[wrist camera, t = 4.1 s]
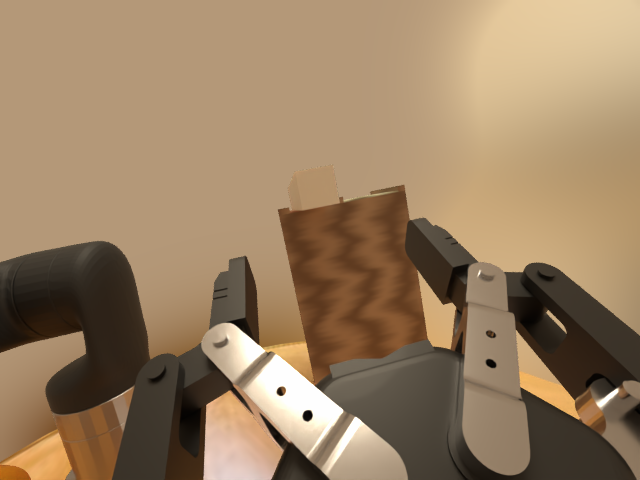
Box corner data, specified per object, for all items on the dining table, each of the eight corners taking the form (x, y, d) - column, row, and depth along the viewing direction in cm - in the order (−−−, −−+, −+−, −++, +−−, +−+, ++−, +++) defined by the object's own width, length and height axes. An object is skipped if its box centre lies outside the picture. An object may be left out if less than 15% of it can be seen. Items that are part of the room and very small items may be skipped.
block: (302, 210, 29) (294, 171, 28) (292, 210, 53) (287, 189, 52) (340, 203, 29) (332, 164, 29) (313, 206, 53) (308, 185, 53)
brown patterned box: (324, 427, 42) (277, 209, 37) (314, 379, 54) (278, 209, 49) (436, 394, 44) (404, 184, 40) (402, 355, 56) (375, 190, 51)
